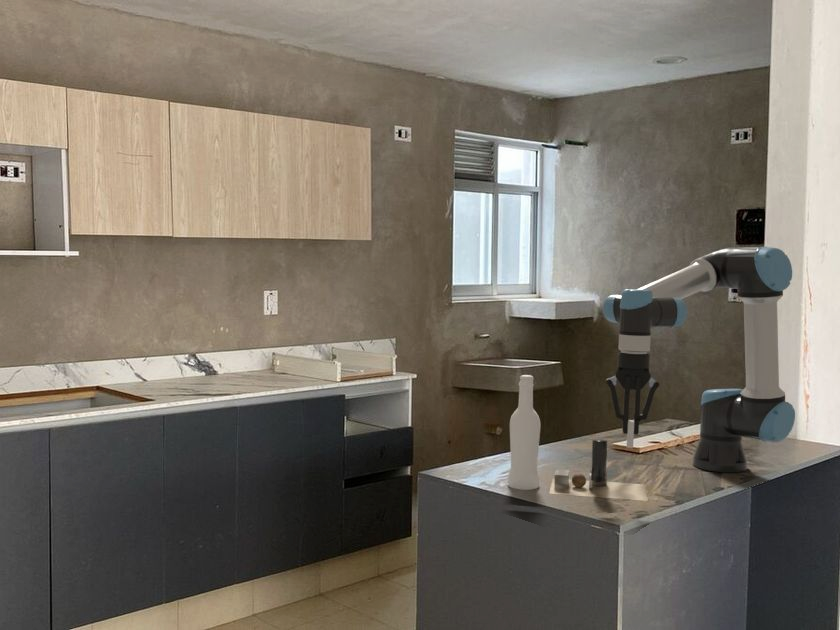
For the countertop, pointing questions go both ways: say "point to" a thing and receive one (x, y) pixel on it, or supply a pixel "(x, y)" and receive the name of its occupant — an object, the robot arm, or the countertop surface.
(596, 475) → the lever
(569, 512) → the countertop surface
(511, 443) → the bottle
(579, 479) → the brown ball
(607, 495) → the board
